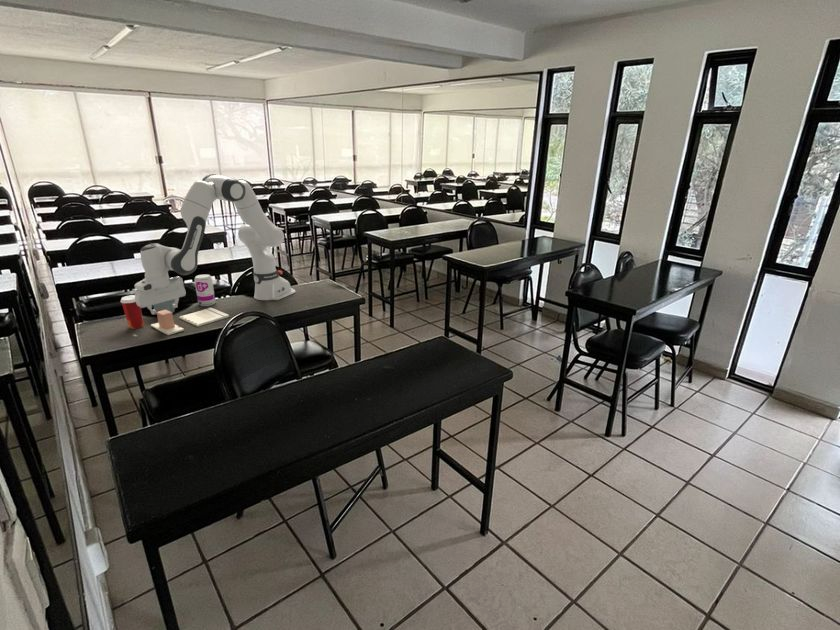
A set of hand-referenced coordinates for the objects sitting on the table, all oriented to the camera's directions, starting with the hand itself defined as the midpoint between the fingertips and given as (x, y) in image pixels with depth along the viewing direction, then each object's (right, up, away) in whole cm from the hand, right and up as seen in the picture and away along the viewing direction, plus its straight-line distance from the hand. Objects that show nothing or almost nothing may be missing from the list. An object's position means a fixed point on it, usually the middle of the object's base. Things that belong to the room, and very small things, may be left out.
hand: (164, 310), depth 205 cm
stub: (0, -8, +3) cm, 9 cm away
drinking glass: (-12, -1, +22) cm, 25 cm away
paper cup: (-16, -7, +5) cm, 18 cm away
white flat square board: (+10, -3, +16) cm, 19 cm away
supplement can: (+4, +4, +34) cm, 34 cm away
